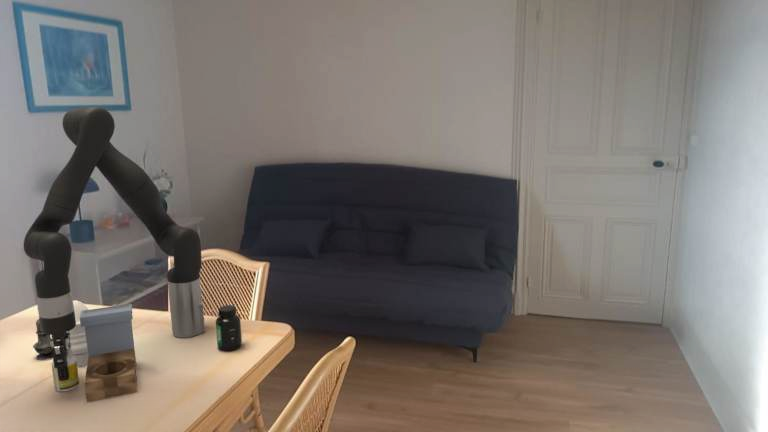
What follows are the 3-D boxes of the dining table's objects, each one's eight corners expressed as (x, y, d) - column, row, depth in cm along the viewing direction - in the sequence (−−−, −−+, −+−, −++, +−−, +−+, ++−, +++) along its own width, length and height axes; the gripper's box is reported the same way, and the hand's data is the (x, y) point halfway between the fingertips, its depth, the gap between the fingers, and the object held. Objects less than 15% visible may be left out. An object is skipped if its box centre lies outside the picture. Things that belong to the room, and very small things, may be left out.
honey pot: (54, 372, 149) (44, 308, 145) (56, 352, 160) (47, 293, 157) (107, 361, 155) (100, 299, 151) (106, 343, 166) (98, 285, 162)
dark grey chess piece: (47, 361, 155) (41, 320, 153) (29, 359, 156) (23, 319, 154) (63, 351, 161) (58, 312, 158) (45, 350, 162) (40, 310, 159)
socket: (136, 365, 153) (134, 348, 151) (136, 391, 139) (134, 373, 138) (90, 373, 148) (88, 356, 147) (86, 401, 135) (84, 382, 134)
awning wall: (138, 361, 155) (131, 303, 151) (138, 370, 150) (131, 310, 146) (89, 370, 150) (81, 310, 146) (87, 379, 145) (79, 317, 142)
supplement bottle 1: (84, 383, 143) (79, 347, 141) (66, 394, 138) (61, 357, 136) (68, 379, 145) (63, 344, 143) (49, 390, 140) (44, 354, 138)
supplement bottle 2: (218, 353, 159) (215, 314, 156) (217, 343, 165) (214, 305, 163) (243, 350, 161) (240, 310, 159) (240, 340, 168) (238, 302, 165)
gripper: (71, 319, 132) (80, 384, 136) (76, 298, 145) (84, 359, 149) (34, 324, 129) (44, 391, 133) (42, 303, 142) (51, 364, 146)
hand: (65, 373), depth 141 cm, fingers closed on supplement bottle 1, 5 cm apart
